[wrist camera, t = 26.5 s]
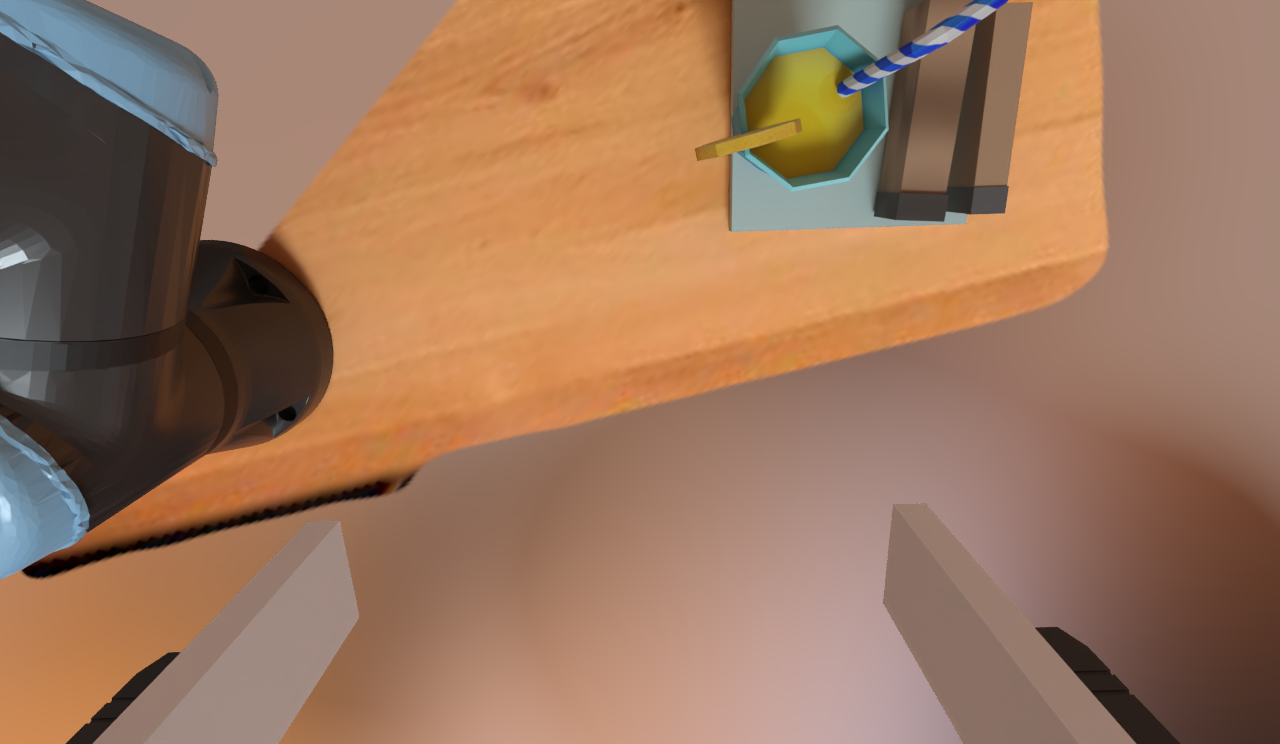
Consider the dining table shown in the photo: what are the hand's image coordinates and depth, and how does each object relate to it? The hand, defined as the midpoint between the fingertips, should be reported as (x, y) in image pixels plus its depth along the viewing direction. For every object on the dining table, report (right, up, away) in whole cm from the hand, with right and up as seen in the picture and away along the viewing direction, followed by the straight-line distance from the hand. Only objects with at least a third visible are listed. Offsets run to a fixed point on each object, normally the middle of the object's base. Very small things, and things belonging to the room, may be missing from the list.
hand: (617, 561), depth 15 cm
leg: (+18, +23, +24) cm, 38 cm away
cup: (+10, +21, +26) cm, 35 cm away
